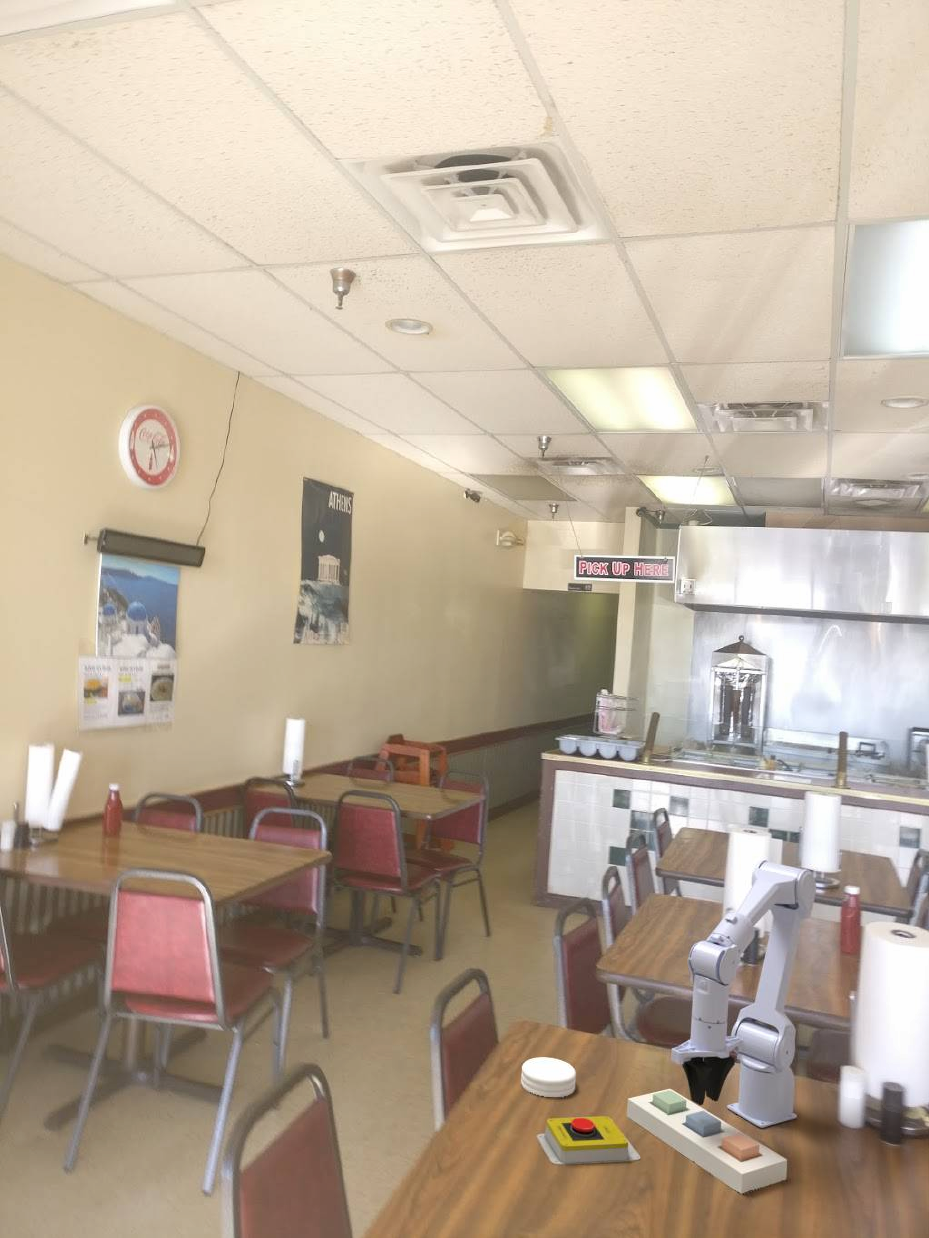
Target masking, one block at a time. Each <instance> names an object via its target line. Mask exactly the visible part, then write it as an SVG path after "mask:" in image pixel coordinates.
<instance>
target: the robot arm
mask: <svg viewBox="0 0 929 1238" xmlns="http://www.w3.org/2000/svg"><path fill="white" fill-rule="evenodd" d="M816 892H817V883H816V879H815V876H814V874H813V872H812V871H811V870H810V869H806V868H804V869H802V868H798V867H795V866H790V865H789V866H788V865H785V864H780V863H775V862H771V861H769V860H766V859H762V860H760V861H759V862H758V863H757V864H756V865H755V867H754V869H753V870H752V874H751V888H750V889H749V891H748V892H747V894H746V896H745V897H744V899H743V901H742V902H741V904H740V905H739V907H738V909H737V910H736V912H728V913H727V914H726V915H725V916H724V917H723V918H722V919H721V920H720V922H719V923H718V924H717V926H716V927H715V929H713V931H712V932H711V934H710V935H708V937H707V938H706V940H701V941H699V942H696V943H694V944H693V946H692V947H691V949H690V952H689V954H688V958H687V968H688V971H689V973H690V974H689V975H690V981H689V982H690V983H691V986H692V987H693V990H692V1006H691V1007H692V1008H691V1025H690V1039H688V1040H687V1041H685V1042H683V1043H681V1044H680V1045H678V1046H675V1047H672V1048H671V1054H670V1061H671V1062H673V1063H675V1064H677V1065H679V1066H682V1069H683V1070H684V1074H685V1076H686V1079H687V1083H688V1089H689V1094H690V1099H691V1100H690V1101H691V1102H693V1103H695V1104H696V1105H698V1106H703V1105H704V1102H705V1098H706V1097H707V1098H708V1099H711V1100H712V1101H714V1102H718V1101H719V1098H720V1096H721V1092H722V1090H723V1086H724V1083H725V1081H726V1080H727V1077H728V1075H729V1073H730V1072H731V1070H732V1069H733V1067H734V1066H735V1065H736V1063H735V1061H736V1060H735V1058H734V1057H732V1056H731V1055H730V1053H731V1052H735V1053H736V1059H737V1060H739V1061H740V1064H739V1065H740V1067H739V1083H738V1084H739V1086H738V1100H737V1102H735V1103H731V1104H727V1109H728V1110H729V1111H732V1112H733V1113H735V1114H737V1115H738V1116H740V1117H742V1118H744V1119H745V1120H747V1121H749V1122H750V1123H751V1124H753V1125H755V1126H757V1127H758V1128H765V1127H769V1126H772V1125H777V1124H779V1123H780V1124H781V1123H784V1122H786V1121H790V1120H791V1121H792V1120H794V1119H796V1118H797V1117H798V1116H797V1114H796V1113H794V1098H795V1075H794V1072H793V1070H792V1068H791V1064H792V1062H793V1060H794V1057H795V1052H796V1044H795V1043H796V1041H795V1040H796V1033H797V1030H796V1027H795V1026H794V1024H793V1023H792V1021H791V1020H790V1019H789V1017H788V1016H787V1015H786V1013H785V1005H786V1001H787V996H788V991H789V987H790V982H791V977H792V973H793V968H794V963H795V959H796V955H797V950H798V944H799V941H800V939H799V938H800V936H801V930H802V926H803V922H804V921H803V920H805V919H808V918H810V917H811V914H812V911H813V907H814V903H815V897H816V894H817V893H816ZM769 911H770V912H771V914H772V918H773V919H772V922H771V923H772V924H771V927H770V932H769V937H768V942H767V946H766V949H765V955H764V959H763V964H762V969H761V973H760V977H759V982H758V987H757V990H756V991H757V992H756V997H755V1001H754V1003H751V1004H749V1005H748V1006H745V1007H743V1008H741V1009H740V1010H739V1012H738V1016H737V1019H736V1022H735V1023H734V1025H733V1027H732V1031H731V1033H730V1034H731V1035H730V1036H729V1035H727V1034H728V1032H727V1029H728V1017H729V1016H728V1015H729V1013H728V1012H729V996H730V983H732V981H733V980H734V979H735V977H736V976H737V972H738V968H739V966H740V964H741V959H742V958H741V956H742V955H743V953H744V952H745V950H747V947H748V946H749V945H750V944H751V942H752V941H753V940H754V938H755V936H756V935H755V934H756V933H755V932H756V931H755V928H754V927H755V926H756V924H757V923H758V922H759V921H761V919H762V918H763V917H764V916H765V915H766V914H767V913H768V912H769ZM758 1021H759V1022H762V1023H765V1024H767V1025H770V1026H772V1027H775V1028H776V1029H775V1028H772V1027H769V1026H767V1025H764V1024H761V1023H759V1022H758Z"/></svg>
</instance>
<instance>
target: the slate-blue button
mask: <svg viewBox="0 0 929 1238" xmlns="http://www.w3.org/2000/svg"><path fill="white" fill-rule="evenodd" d="M685 1126H686V1127H687V1128H689V1129H690V1130H692V1131H693V1132H695V1133H697V1134H698V1135H700V1136H701V1137H703V1138H704V1137H708V1136H712V1135H715V1134H719V1133H721V1121H720V1120H718V1119H716V1118H715V1117H713V1116H711V1115H710V1114H708V1113H707V1112H705V1111H700V1112H696V1113H693V1114H689V1115H686V1125H685Z"/></svg>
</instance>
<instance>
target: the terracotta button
mask: <svg viewBox="0 0 929 1238" xmlns="http://www.w3.org/2000/svg"><path fill="white" fill-rule="evenodd" d="M722 1150H723V1151H724V1152H726V1153H728V1154H729V1155H731V1156H732V1157H734V1158H735V1159H737V1160H738V1161H740V1162H744V1161H747V1160H750V1159H754V1158H757V1157H759V1144H757V1143H756V1142H754V1141H752V1140H751V1139H749V1138H747V1137H746V1136H744V1135H742V1134H741V1133H738V1134H734V1135H731V1136H727V1137H724V1138H722Z"/></svg>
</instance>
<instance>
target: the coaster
mask: <svg viewBox="0 0 929 1238" xmlns="http://www.w3.org/2000/svg"><path fill="white" fill-rule="evenodd" d="M520 1075H521V1079H520V1083H521V1086H522V1088H523V1089H524V1090H525V1091H527V1092H528V1093H530V1092H531V1093H530V1094H532V1093H533V1094H532V1095H534V1094H536V1095H535V1096H537V1095H539V1096H538V1097H541V1096H544V1097H543V1098H546V1097H562V1098H565V1097H564V1096H566V1097H569V1096H571V1095H572V1094H573V1093H574V1091H575V1090H576V1080H577V1079H576V1076H577V1072H576V1069H575V1068H574V1067H573V1066H572V1064H570V1063H568V1062H567V1061H564V1060H561V1059H558V1058H554V1057H546V1056H545V1057H543V1056H541V1057H534V1058H530V1059H527V1060H526V1061H524V1062H523V1064H522V1066H521V1074H520ZM570 1094H571V1095H570ZM568 1095H569V1096H568Z"/></svg>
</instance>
